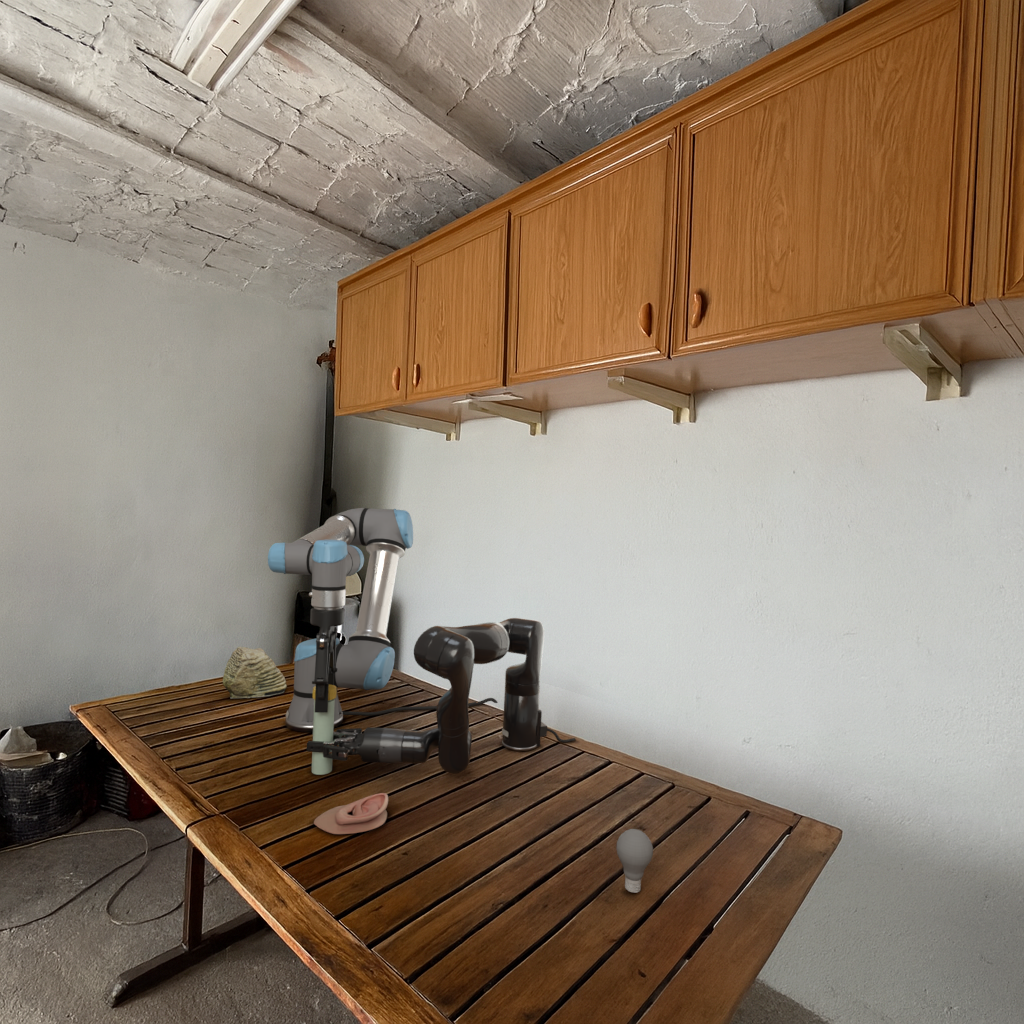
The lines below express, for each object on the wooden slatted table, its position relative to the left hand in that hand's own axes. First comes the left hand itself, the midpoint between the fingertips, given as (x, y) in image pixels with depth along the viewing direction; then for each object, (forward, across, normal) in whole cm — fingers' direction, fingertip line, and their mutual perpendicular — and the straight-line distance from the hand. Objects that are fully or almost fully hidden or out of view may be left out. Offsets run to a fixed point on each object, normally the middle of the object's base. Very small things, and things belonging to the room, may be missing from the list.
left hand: (324, 705), depth 146 cm
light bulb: (+15, +48, +59) cm, 77 cm away
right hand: (+8, 0, -3) cm, 9 cm away
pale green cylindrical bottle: (+15, 0, 0) cm, 15 cm away
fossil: (+15, -56, -30) cm, 65 cm away
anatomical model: (+15, +23, +10) cm, 29 cm away
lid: (-4, 0, 0) cm, 4 cm away
